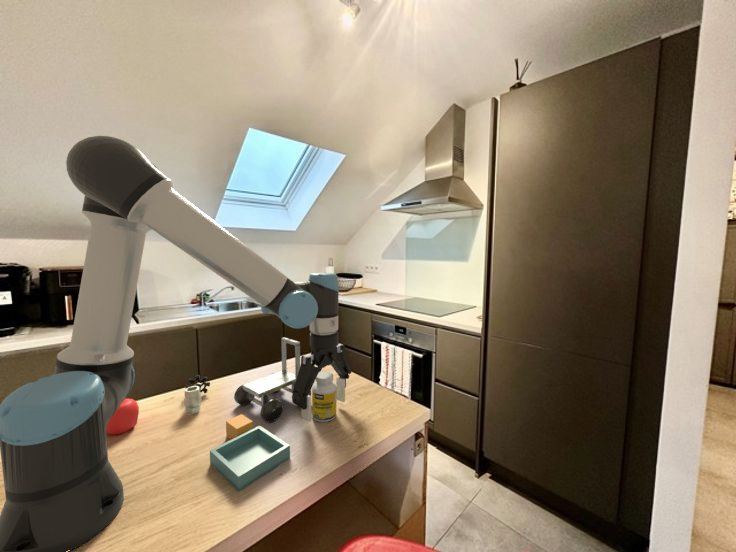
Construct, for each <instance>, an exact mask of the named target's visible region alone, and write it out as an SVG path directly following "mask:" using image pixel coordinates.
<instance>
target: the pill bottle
mask: <svg viewBox="0 0 736 552" xmlns="http://www.w3.org/2000/svg"><path fill="white" fill-rule="evenodd" d="M336 393H337V388H336V382H334V373H333V372H331V371H320V372H319V373H318V375H317V377H316V379H315V382H314V384H313V386H312V388H311V417H312V418H313V419H314V421H316V422H319V423H326V422H327V423H328V422H330V421H332V420H334V419H335V418H336V416H337V399H336Z"/></svg>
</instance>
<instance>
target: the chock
mask: <svg viewBox="0 0 736 552" xmlns="http://www.w3.org/2000/svg"><path fill="white" fill-rule="evenodd" d="M253 422H254V421H253V420H252V419H250V418H248V417H247V416H246V415H244V414H242V413H240V414H239V415H237V416H234V417H232V418H230V419H227V420H226V421H225V431H226V435H225V437H226V438H228V439H229V441H230V440H232V439H234V438H236V437H238V436H240V435H242V434H244V433H246V432H248V431H250V430H252V429H254V423H253Z"/></svg>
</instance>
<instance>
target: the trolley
mask: <svg viewBox="0 0 736 552" xmlns="http://www.w3.org/2000/svg"><path fill="white" fill-rule="evenodd" d="M287 344H288V345H292V346H294V352H295V353H294V356H295V359H294V360H295V361H294V363H295V367H294V368H295V369H294V370H295V373H294V372H291V371H290V370H287V369H288V368H287V363H288V361H287ZM300 366H301V342H300V341H298V340H294V339H291V338H288V337H285V336H284V337H281V370H280V371H277V372H275V373H271V374H270V375H266V376H264V377H261V378H258V379H256V380H253V381H250V382H248V383H244V384H241V385H240V386H238V388H237V389H236V390H235V392H234V396H233V398H234V401H235V402H236V403H237V404H239V406H243V407H244V406H248V405H250V404H251V403H252V402H253V403H255V404H257V405H258V406H260V407H261V409H260V412H259V413H260V417H261V419H262V420H264V421H266V422H268V423H273V422H275V421H277V420H278V419H279V418H280V417H281V415H282V413H283V409H284V405H283V402H282V401H281V400H280V399H277V398H275V397H271V398H269V396H268V395H270V394H276V393H278V392H280V391H281V389H282V390H284V391H287V392H289V393H291V394H292V392H293V389H294V386H295V382H296V379H297V376H298V372H299V369H300ZM289 386H291V387H289ZM304 392H305V390H304ZM309 396H311V397H312V389H311V390H310V392H309ZM256 397H257V398H258V399H257V398H256ZM259 399H260V400H259ZM291 401H292V404H293V405H295V406H298V407H299V408H300V398H299V397H296V396H294V395H293V394H292V396H291Z"/></svg>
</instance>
